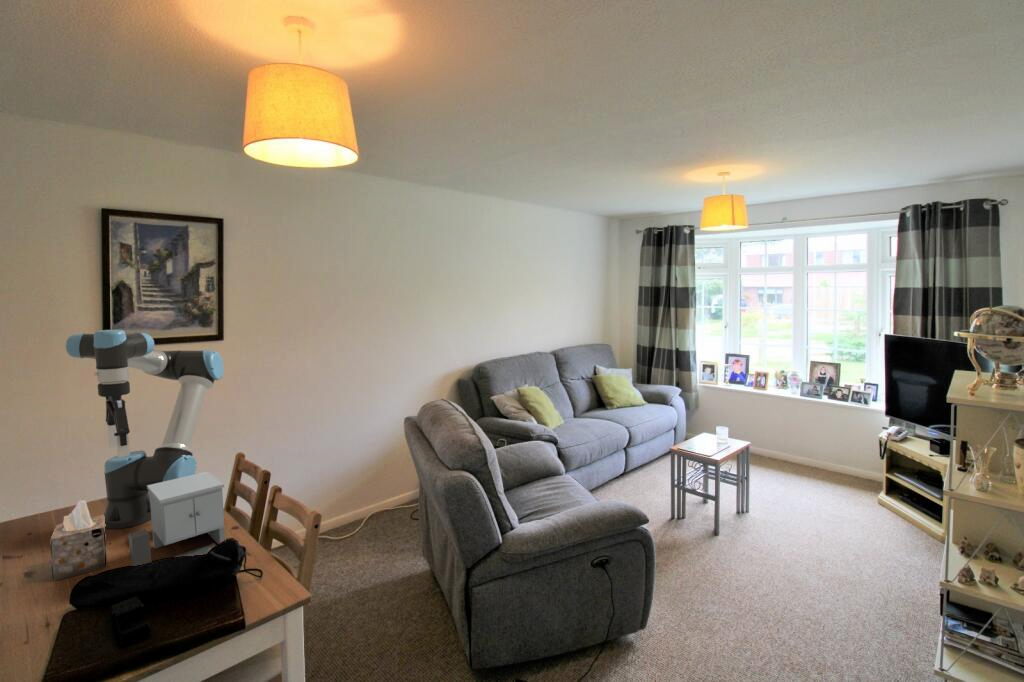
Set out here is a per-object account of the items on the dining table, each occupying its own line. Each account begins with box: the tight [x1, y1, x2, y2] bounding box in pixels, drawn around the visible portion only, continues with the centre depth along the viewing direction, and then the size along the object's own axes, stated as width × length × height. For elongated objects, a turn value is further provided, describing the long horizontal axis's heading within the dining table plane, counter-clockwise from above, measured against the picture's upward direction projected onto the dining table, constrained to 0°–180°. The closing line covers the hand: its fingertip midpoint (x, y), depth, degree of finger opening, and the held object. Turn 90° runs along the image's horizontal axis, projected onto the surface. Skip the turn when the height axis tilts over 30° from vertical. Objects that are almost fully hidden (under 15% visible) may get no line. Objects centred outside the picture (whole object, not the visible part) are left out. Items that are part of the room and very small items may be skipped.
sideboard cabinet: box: [147, 471, 226, 549], centre depth 159 cm, size 17×17×20 cm
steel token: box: [188, 548, 209, 556], centre depth 152 cm, size 5×5×2 cm
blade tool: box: [128, 528, 216, 567], centre depth 151 cm, size 4×21×12 cm, turn 138°
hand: (119, 450), depth 154 cm, fingers open, 13 cm apart
